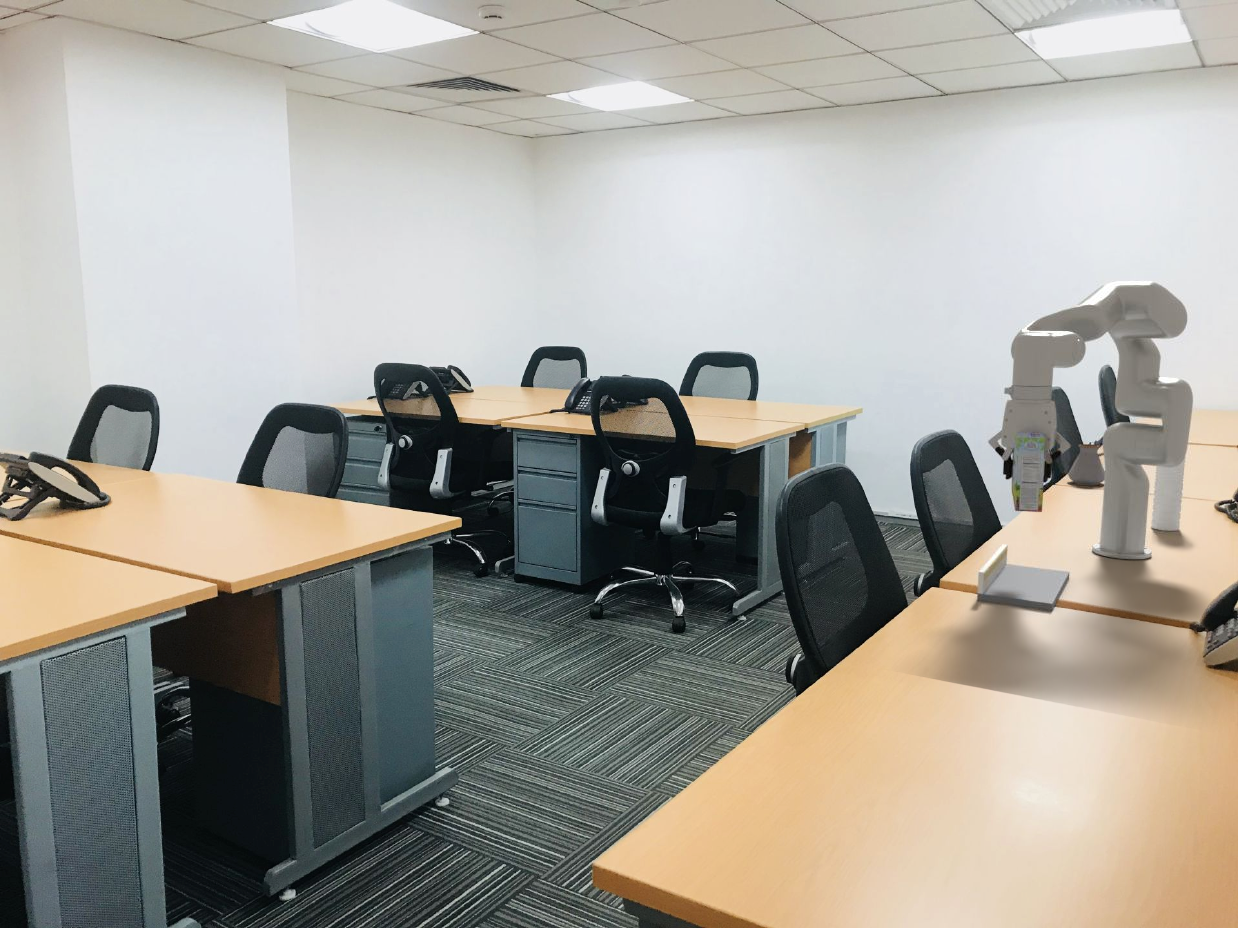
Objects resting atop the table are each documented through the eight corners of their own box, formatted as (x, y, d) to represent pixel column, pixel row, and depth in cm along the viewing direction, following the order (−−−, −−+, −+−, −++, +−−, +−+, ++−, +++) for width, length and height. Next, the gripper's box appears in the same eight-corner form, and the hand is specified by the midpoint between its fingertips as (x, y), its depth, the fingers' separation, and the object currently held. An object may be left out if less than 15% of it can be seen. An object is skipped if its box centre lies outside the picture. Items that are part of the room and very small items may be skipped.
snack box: (1008, 491, 208) (1012, 423, 205) (1036, 492, 206) (1040, 424, 203) (1013, 511, 188) (1017, 436, 185) (1043, 513, 186) (1048, 437, 184)
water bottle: (1175, 532, 246) (1184, 438, 242) (1148, 528, 251) (1155, 436, 247) (1183, 526, 253) (1191, 434, 249) (1156, 523, 257) (1164, 432, 253)
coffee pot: (1064, 484, 313) (1067, 440, 311) (1070, 479, 323) (1073, 435, 320) (1137, 490, 301) (1141, 444, 299) (1141, 485, 311) (1144, 440, 308)
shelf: (1001, 569, 214) (1002, 544, 213) (1069, 578, 207) (1070, 551, 206) (976, 600, 192) (978, 571, 191) (1051, 611, 185) (1053, 581, 184)
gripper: (983, 394, 195) (979, 479, 198) (1075, 397, 185) (1069, 486, 188) (991, 391, 201) (986, 473, 204) (1080, 394, 192) (1074, 480, 195)
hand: (1026, 479), depth 196 cm, fingers closed on snack box, 6 cm apart
